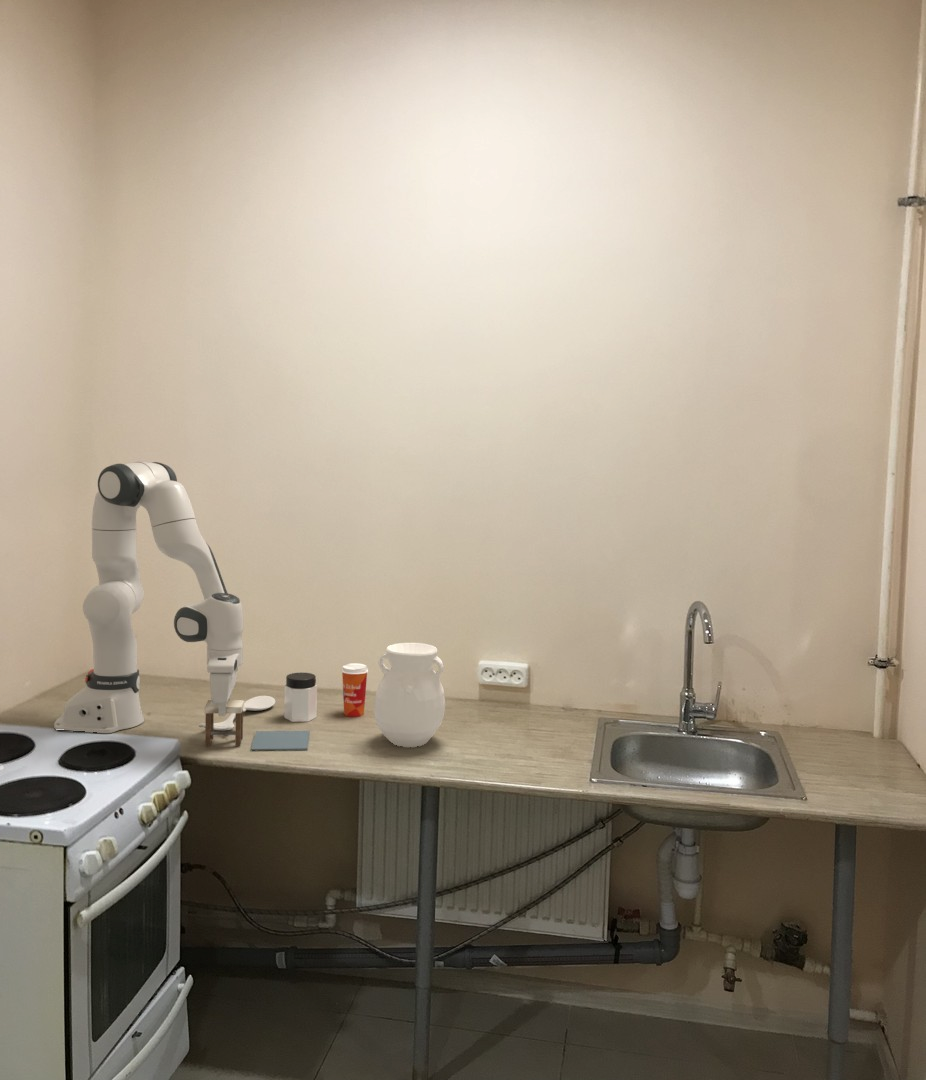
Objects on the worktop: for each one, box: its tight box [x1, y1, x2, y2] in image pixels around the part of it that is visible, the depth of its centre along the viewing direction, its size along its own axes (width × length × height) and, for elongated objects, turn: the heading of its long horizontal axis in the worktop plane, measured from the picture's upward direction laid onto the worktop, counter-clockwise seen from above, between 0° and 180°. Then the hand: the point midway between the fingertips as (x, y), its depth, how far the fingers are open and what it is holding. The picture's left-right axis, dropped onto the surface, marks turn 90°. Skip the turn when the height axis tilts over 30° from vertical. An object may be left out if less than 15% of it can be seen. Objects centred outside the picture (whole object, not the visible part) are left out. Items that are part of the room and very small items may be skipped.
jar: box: [283, 672, 318, 723], centre depth 257 cm, size 9×8×12 cm
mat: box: [250, 730, 310, 752], centre depth 238 cm, size 14×14×1 cm
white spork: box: [198, 695, 276, 731], centre depth 255 cm, size 9×32×4 cm, turn 167°
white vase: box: [373, 642, 446, 748], centre depth 239 cm, size 19×18×25 cm
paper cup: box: [340, 663, 369, 718], centre depth 262 cm, size 8×8×14 cm
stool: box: [204, 699, 245, 747], centre depth 234 cm, size 9×6×10 cm, turn 97°
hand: (224, 710), depth 234 cm, fingers closed on stool, 6 cm apart
